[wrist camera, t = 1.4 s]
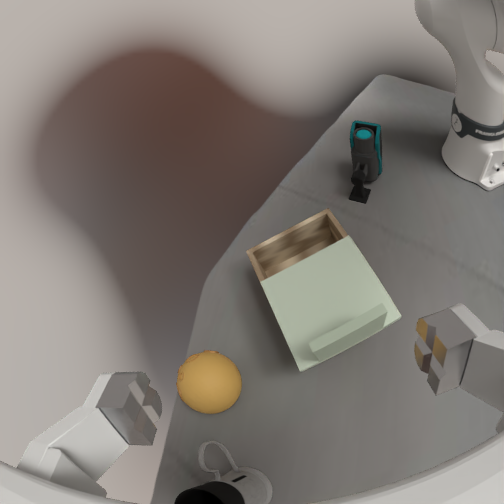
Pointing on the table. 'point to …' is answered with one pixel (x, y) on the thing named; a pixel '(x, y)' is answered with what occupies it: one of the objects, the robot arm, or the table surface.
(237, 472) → the glass holder
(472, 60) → the robot arm
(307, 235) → the wooden box
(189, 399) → the stress ball
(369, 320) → the lid
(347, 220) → the table surface
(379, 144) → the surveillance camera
